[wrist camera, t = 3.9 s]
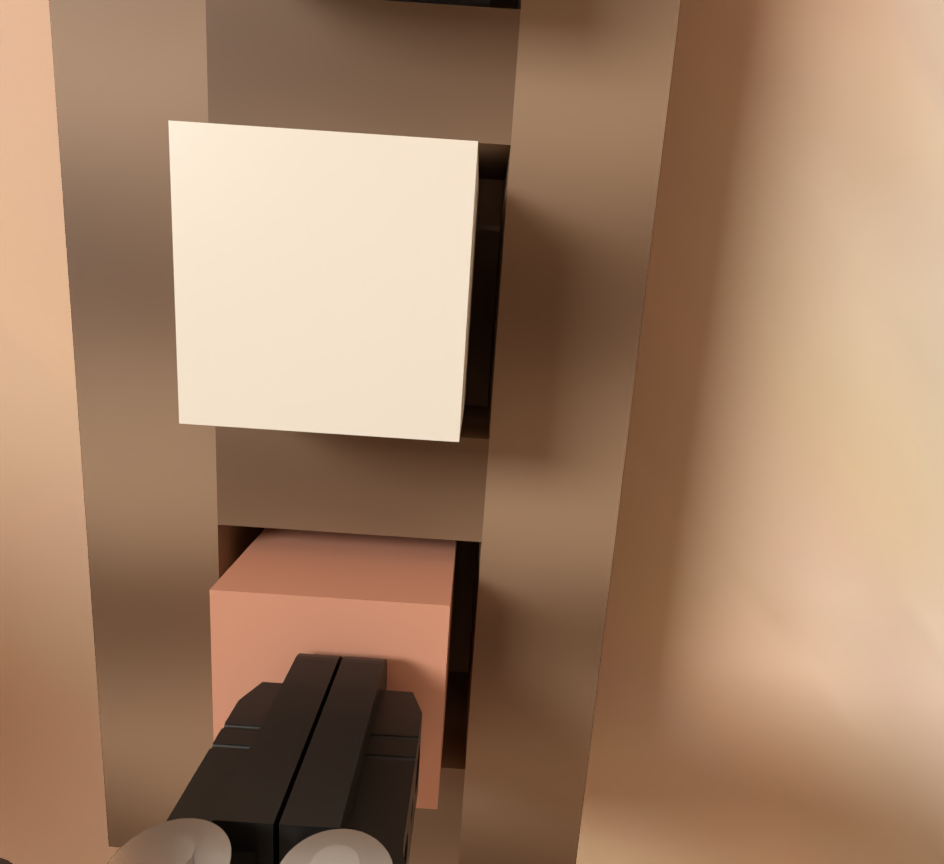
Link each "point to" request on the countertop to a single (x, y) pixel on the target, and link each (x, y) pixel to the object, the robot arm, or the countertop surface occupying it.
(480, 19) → the key panel
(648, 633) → the countertop surface
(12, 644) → the countertop surface
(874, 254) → the countertop surface
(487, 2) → the slate key
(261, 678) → the pink cube
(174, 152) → the cream cube
